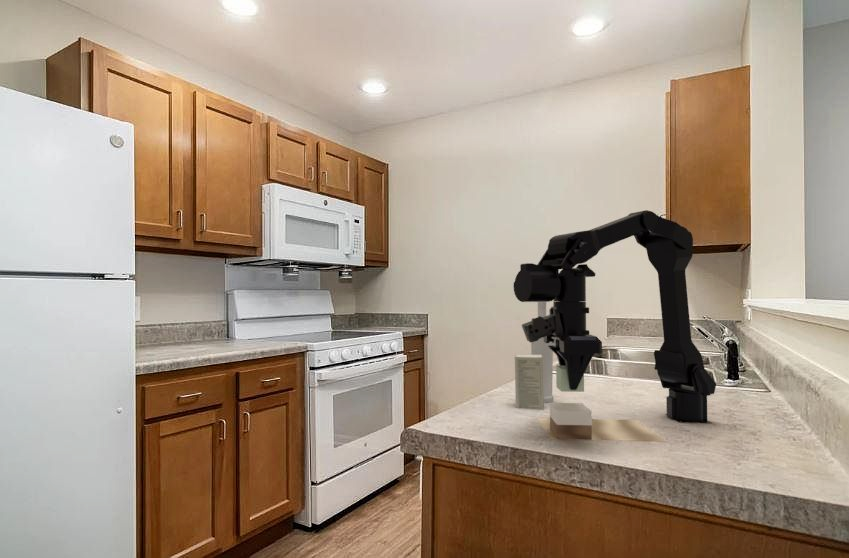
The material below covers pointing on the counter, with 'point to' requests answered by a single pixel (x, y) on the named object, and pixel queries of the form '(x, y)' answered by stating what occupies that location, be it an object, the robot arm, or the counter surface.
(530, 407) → the skincare box
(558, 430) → the tower base
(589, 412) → the tower mid
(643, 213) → the robot arm
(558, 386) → the green cube
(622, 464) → the counter surface
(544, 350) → the bottle
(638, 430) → the cutting board
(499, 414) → the counter surface
